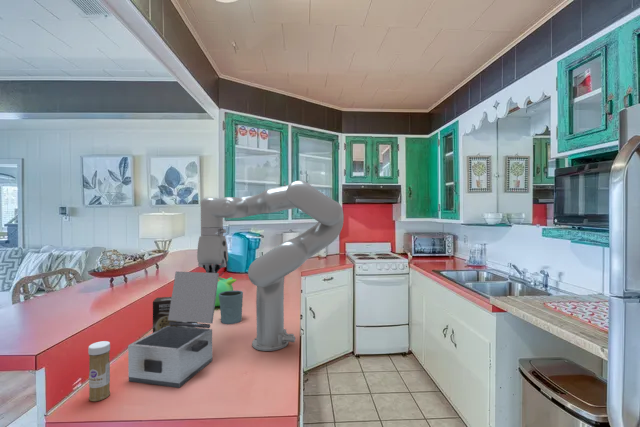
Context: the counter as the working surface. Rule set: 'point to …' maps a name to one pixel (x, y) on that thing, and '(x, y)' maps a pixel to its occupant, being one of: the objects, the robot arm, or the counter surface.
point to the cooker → (170, 356)
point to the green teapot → (223, 287)
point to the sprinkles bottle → (99, 370)
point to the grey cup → (231, 306)
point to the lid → (193, 299)
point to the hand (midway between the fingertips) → (212, 283)
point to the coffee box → (161, 313)
